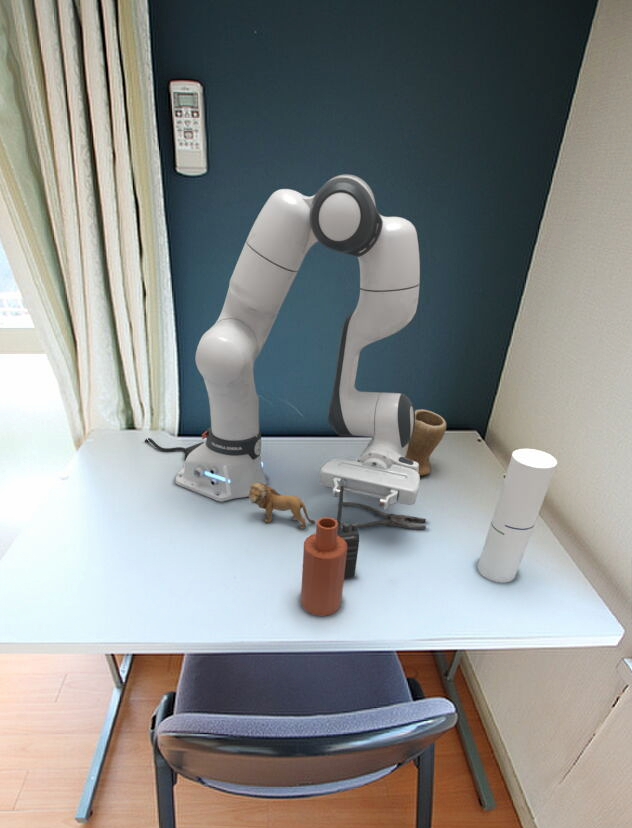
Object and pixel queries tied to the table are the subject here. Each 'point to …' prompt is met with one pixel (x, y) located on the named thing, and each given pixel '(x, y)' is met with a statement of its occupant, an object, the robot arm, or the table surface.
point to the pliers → (389, 518)
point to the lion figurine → (277, 502)
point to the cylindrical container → (516, 513)
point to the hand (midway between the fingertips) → (359, 499)
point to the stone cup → (425, 438)
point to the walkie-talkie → (348, 539)
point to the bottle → (323, 569)
